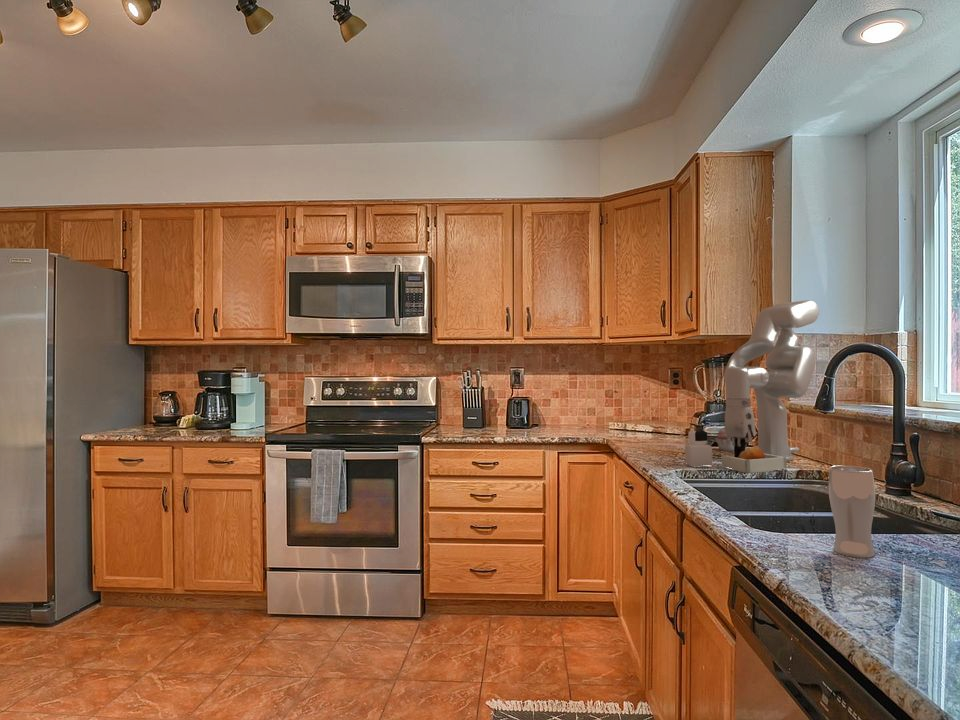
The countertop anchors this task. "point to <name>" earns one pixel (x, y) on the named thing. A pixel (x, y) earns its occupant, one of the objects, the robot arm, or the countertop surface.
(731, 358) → the robot arm
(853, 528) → the beer glass
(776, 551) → the countertop surface
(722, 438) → the cupcake
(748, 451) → the fruit
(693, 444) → the medicine bottle
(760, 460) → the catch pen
